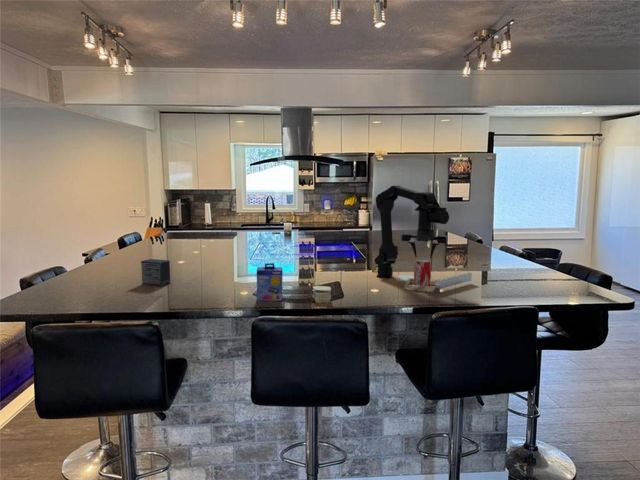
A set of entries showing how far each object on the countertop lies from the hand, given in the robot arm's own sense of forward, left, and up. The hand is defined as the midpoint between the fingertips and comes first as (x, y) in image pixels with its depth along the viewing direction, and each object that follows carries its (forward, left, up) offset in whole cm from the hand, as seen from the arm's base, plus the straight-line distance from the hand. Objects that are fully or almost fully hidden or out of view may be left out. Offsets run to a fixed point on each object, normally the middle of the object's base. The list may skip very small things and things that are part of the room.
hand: (423, 257), depth 184 cm
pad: (-7, +13, -13) cm, 20 cm away
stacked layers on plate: (-34, -35, -14) cm, 51 cm away
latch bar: (+13, +4, -11) cm, 18 cm away
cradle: (0, 0, -13) cm, 13 cm away
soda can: (0, 0, -13) cm, 13 cm away
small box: (-110, -37, -13) cm, 117 cm away
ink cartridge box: (-54, -40, -13) cm, 68 cm away
